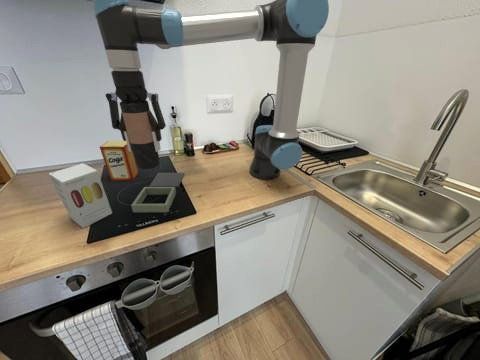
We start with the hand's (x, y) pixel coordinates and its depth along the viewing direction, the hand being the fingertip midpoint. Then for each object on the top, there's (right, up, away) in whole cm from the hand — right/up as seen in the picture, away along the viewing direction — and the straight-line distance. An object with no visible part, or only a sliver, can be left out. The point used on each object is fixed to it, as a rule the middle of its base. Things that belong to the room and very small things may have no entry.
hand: (145, 150), depth 64 cm
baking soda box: (-22, -8, +26) cm, 35 cm away
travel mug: (0, -5, +3) cm, 5 cm away
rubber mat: (-2, -10, +25) cm, 27 cm away
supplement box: (-19, -22, +3) cm, 29 cm away
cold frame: (-1, -18, +10) cm, 21 cm away
